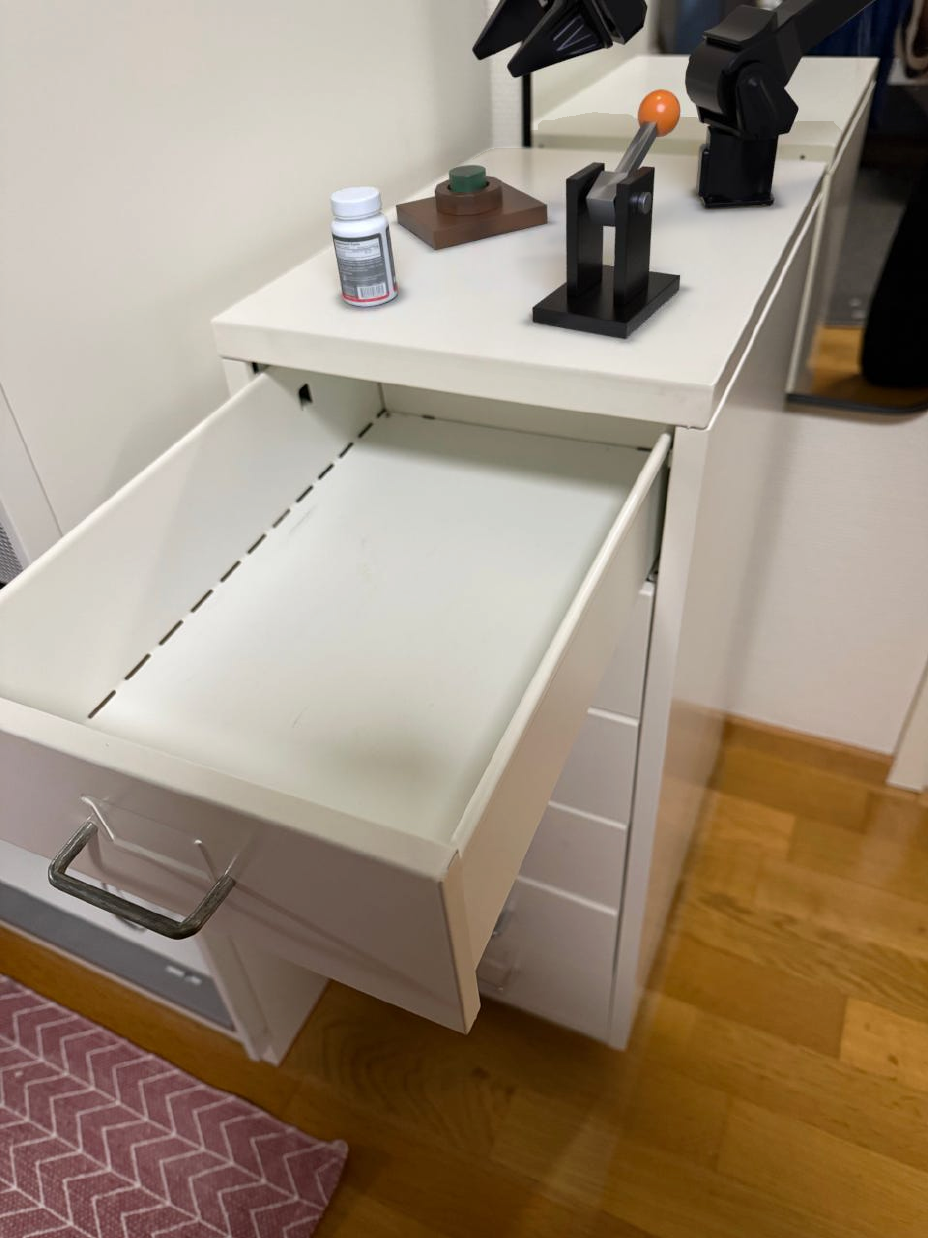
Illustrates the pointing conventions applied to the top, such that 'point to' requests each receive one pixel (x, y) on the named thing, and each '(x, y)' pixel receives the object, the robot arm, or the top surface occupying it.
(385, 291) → the pill bottle
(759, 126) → the robot arm
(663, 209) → the top surface
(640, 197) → the switch bracket
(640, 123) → the switch lever
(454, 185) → the button
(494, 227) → the button block
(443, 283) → the top surface
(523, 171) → the top surface
